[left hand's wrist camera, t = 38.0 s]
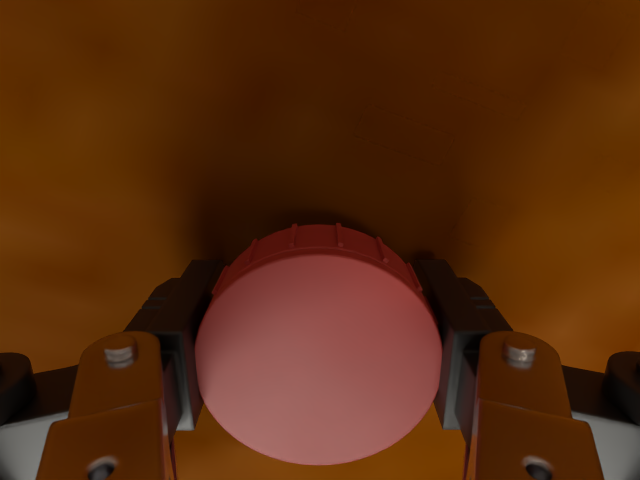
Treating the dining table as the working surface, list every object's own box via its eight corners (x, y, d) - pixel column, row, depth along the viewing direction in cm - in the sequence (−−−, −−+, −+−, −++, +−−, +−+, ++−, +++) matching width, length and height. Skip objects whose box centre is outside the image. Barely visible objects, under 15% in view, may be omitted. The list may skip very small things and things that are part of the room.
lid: (454, 374, 11) (478, 426, 10) (264, 435, 12) (255, 495, 10) (385, 185, 10) (399, 210, 8) (170, 270, 10) (141, 308, 9)
